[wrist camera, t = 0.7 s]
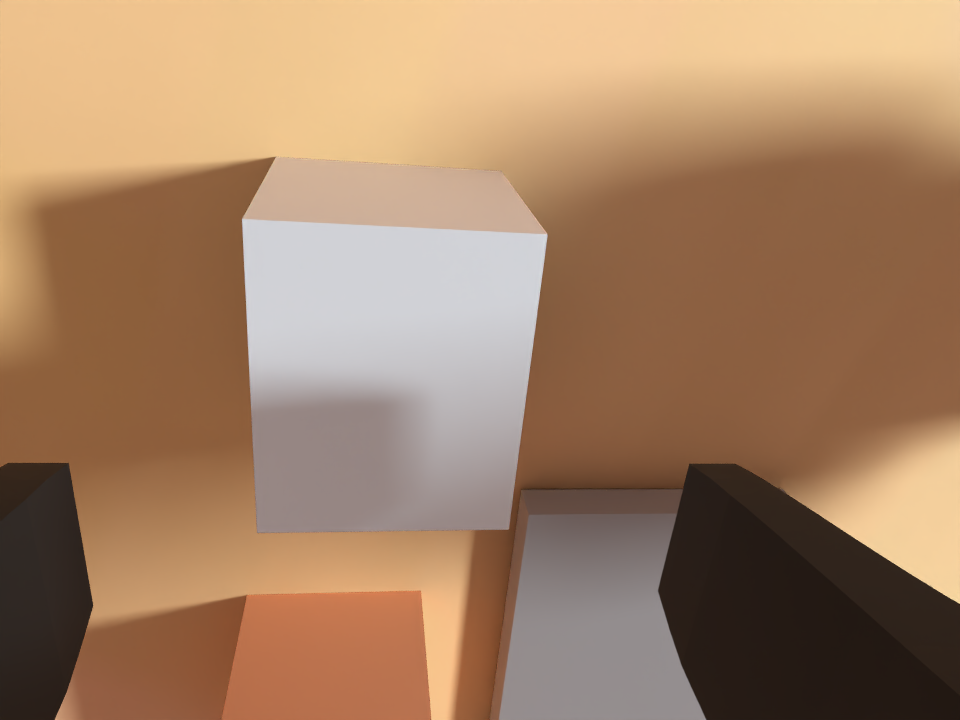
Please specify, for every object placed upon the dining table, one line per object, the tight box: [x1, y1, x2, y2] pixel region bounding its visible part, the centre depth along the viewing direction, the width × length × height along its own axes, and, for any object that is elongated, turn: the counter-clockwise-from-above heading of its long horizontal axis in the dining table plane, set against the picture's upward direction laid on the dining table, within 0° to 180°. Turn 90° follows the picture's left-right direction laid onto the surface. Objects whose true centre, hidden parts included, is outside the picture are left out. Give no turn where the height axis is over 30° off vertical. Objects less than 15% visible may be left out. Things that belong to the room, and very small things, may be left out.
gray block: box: [489, 489, 785, 720], centre depth 22 cm, size 7×14×1 cm, turn 175°
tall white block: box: [242, 157, 548, 533], centre depth 14 cm, size 4×6×4 cm
